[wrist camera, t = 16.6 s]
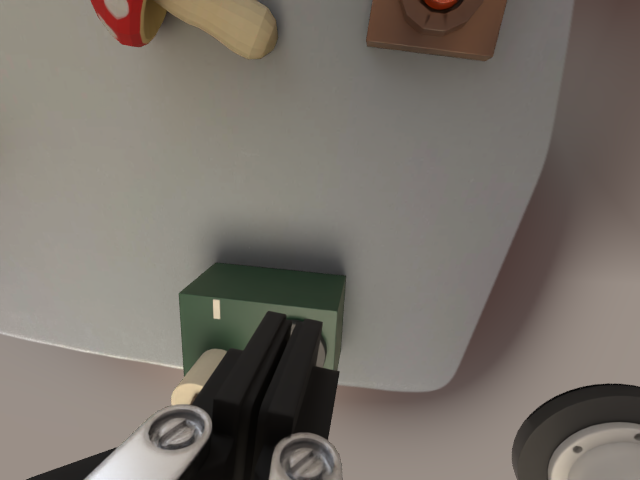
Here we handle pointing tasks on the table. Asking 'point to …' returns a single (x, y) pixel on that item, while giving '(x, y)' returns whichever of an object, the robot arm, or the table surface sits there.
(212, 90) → the table surface
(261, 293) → the camp stove
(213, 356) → the stove knob
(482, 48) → the block
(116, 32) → the decorative mushroom
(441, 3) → the button
